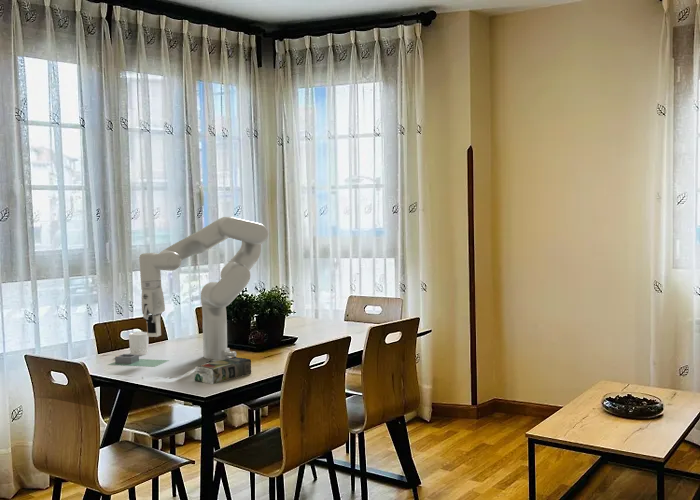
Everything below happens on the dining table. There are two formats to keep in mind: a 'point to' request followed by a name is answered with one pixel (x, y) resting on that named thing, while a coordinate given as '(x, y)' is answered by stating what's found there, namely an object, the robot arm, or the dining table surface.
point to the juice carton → (223, 370)
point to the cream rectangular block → (158, 327)
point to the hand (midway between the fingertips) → (154, 331)
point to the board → (135, 361)
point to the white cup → (138, 343)
